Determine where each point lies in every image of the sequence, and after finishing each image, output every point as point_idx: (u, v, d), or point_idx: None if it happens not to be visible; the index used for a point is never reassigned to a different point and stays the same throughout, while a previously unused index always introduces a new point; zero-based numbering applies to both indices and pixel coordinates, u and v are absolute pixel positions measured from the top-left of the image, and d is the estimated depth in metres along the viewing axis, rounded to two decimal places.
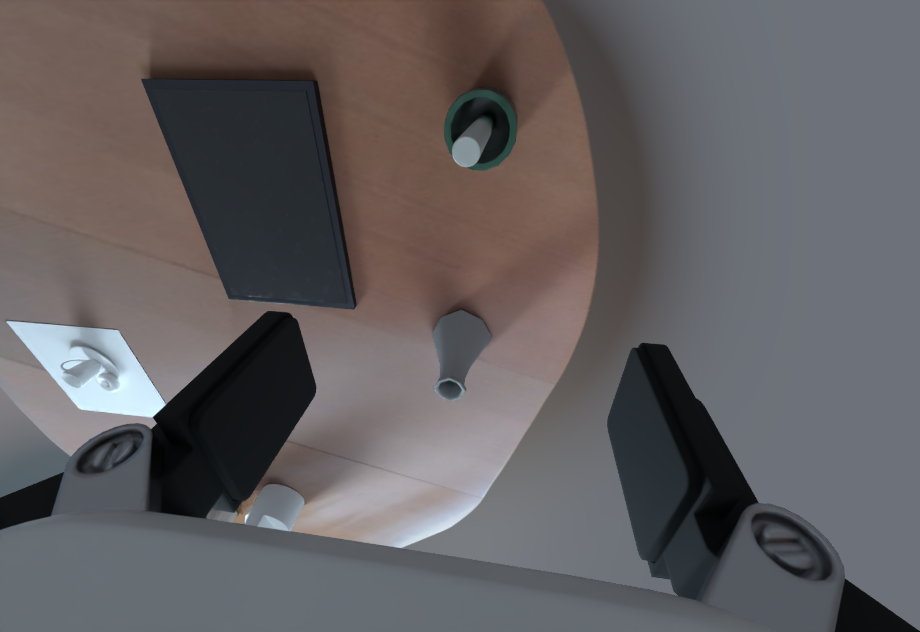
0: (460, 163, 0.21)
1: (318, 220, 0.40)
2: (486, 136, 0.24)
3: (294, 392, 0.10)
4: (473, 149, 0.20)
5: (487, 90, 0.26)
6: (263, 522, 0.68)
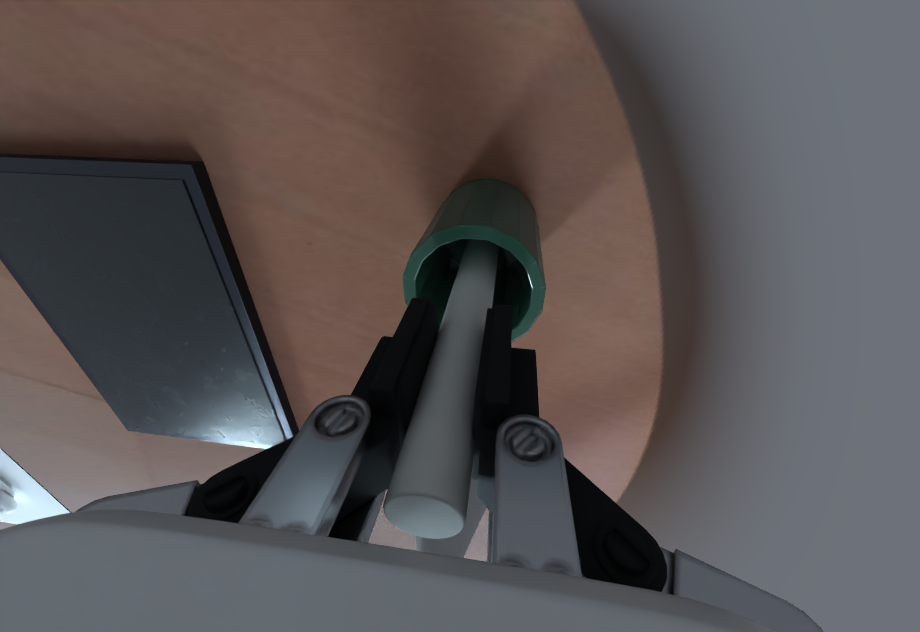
0: (409, 532, 0.07)
1: (233, 351, 0.26)
2: None
3: None
4: (444, 517, 0.07)
5: (487, 227, 0.12)
6: None
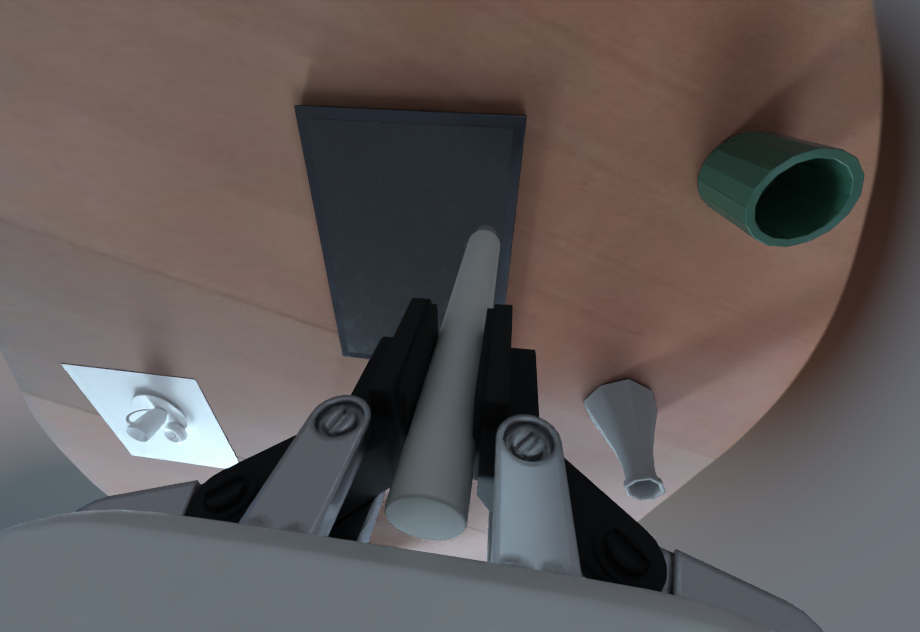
0: (410, 533, 0.07)
1: None
2: None
3: None
4: (445, 518, 0.07)
5: (838, 149, 0.19)
6: None
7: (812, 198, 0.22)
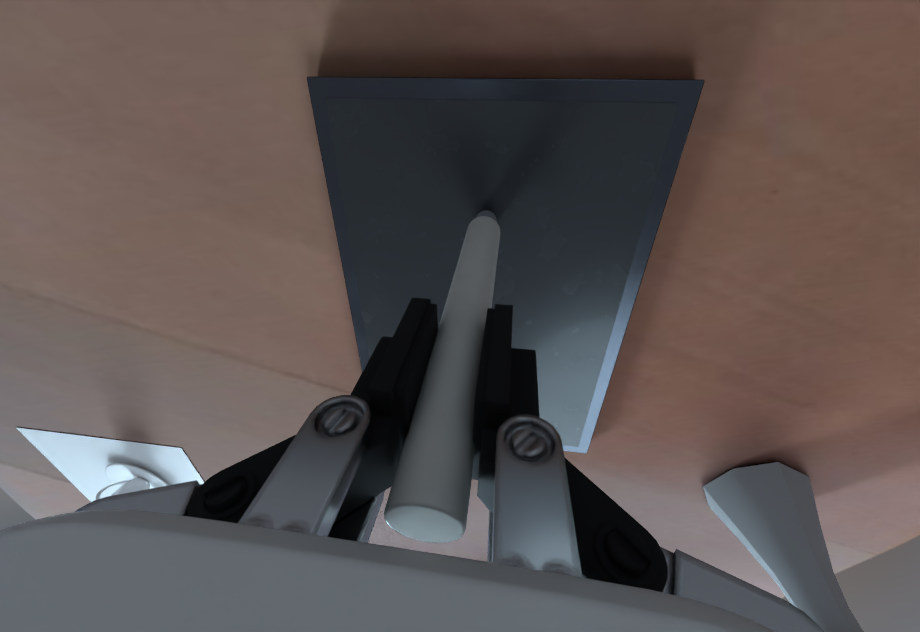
0: (410, 537, 0.07)
1: (586, 332, 0.22)
2: None
3: None
4: (444, 525, 0.07)
5: None
6: None
7: None
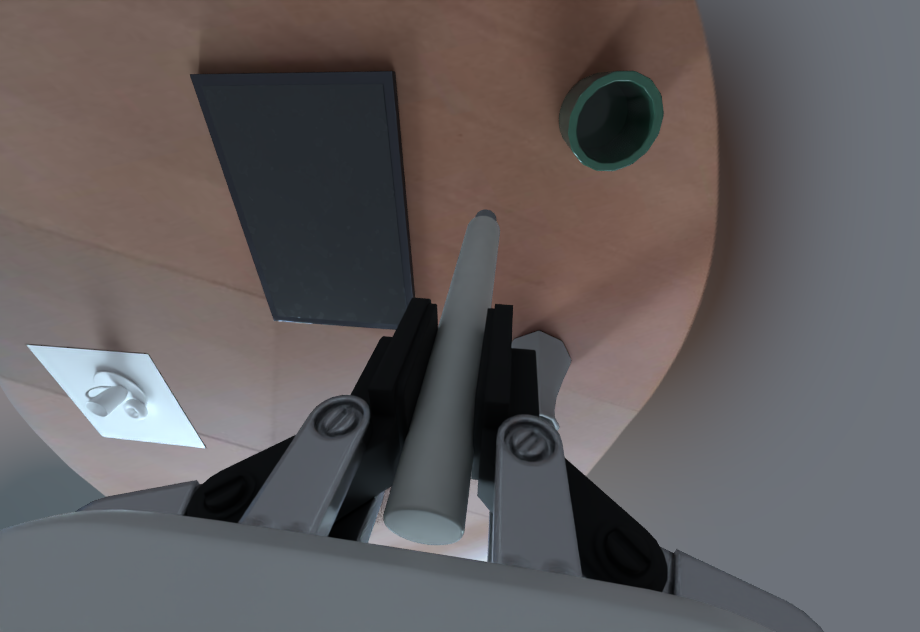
0: (409, 539, 0.07)
1: (384, 233, 0.35)
2: None
3: None
4: (443, 528, 0.07)
5: (632, 71, 0.21)
6: None
7: (639, 127, 0.24)
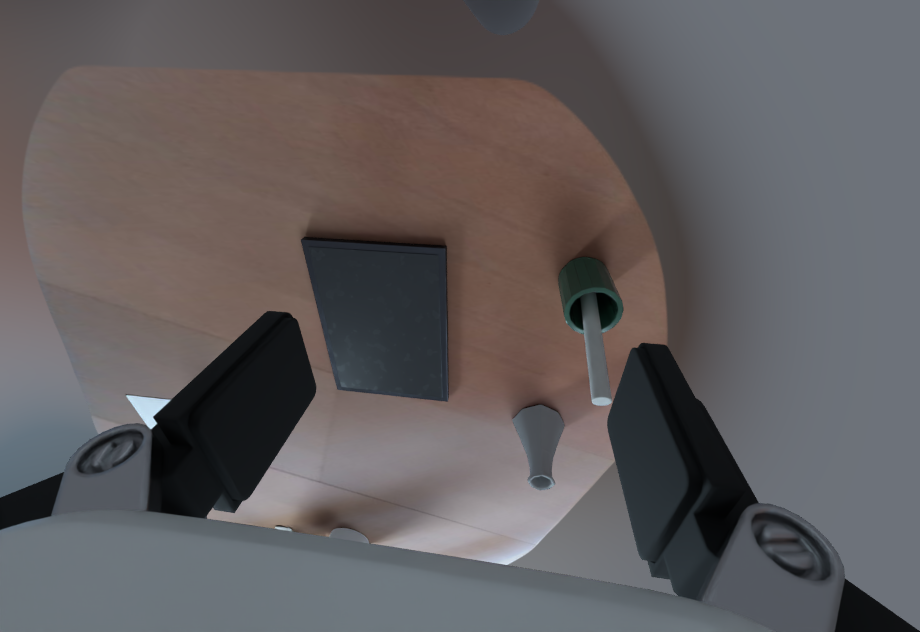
0: (596, 404, 0.31)
1: (430, 339, 0.48)
2: None
3: (294, 392, 0.10)
4: (607, 401, 0.31)
5: (603, 288, 0.34)
6: None
7: (610, 304, 0.37)
